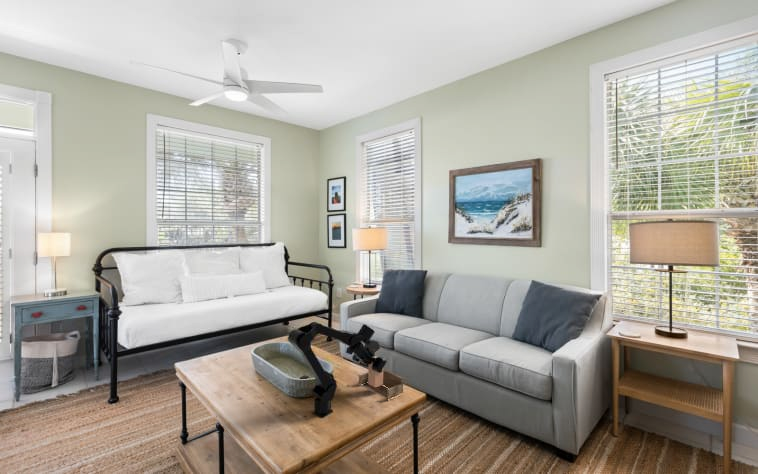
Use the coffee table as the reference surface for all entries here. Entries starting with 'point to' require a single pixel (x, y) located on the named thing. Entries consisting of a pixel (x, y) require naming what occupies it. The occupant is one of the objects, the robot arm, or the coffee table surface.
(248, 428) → the coffee table surface
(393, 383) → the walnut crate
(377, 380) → the terracotta block
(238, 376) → the coffee table surface
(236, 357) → the coffee table surface
